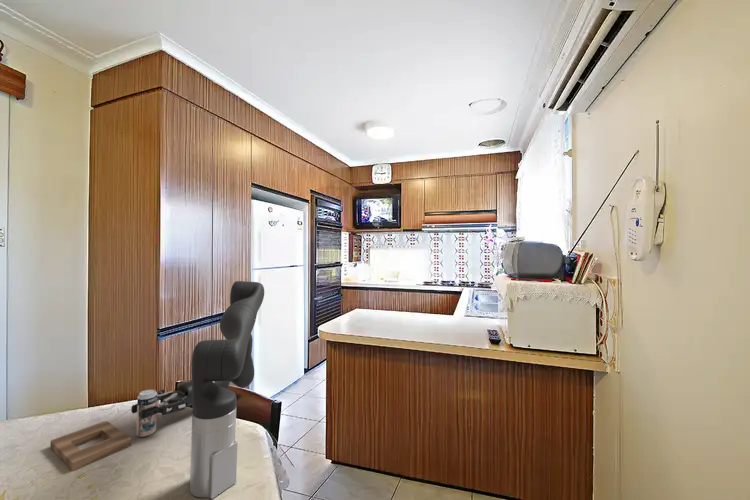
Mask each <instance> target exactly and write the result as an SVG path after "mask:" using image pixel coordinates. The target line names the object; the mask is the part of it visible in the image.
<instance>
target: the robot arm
mask: <svg viewBox="0 0 750 500" xmlns="http://www.w3.org/2000/svg"><path fill="white" fill-rule="evenodd" d="M264 297H265V286H264V285H263V284H262V283H261V282H259V281H258V282H257V281H247V280H245V281H244V280H236V281H235V282H233V283H232V285H231V288H230V294H229V306H228V307H227V308H226V310H225V311H224V312H223V315H222V316H221V319H220V320H219V330H220V332H221V335H222V336H223V338H225V339H205V340H201V341H199V342H197V344H196V345H195V346H194V348H193V351H192V355H191V363H190V365H191V366H190V367H191V379H190V380H188V381H185V382H182V383H180V384H178V385H177V387H175V388H176V389H175V390H171V391H167V392H166V391H165V389H160V390H158V391H156V392H157V407H156V406H153V407H150V408H147V409H145V410H142V411H141V412H140V418H141V419H144V418H147V417H149V416H152V415H155V414H156V416H157V415H162V416H167V415H170V414H174V413H177V412H180V411H185V409H186V408H188V407H190V406H191V409H192V411H191V413H192V415H191V436H190V438H191V439H190V440H191V443H190V470H189V475H190V476H189V491H190V493H191V495H192V496H194V497H196V498H208V499H210V498H211V500H212V499H215V498H216V497H217V496H219V495H220V494H222V493H223V492H224V491H226V490H228V489H229V488H230V487H232V486H233V485H235V484H236V483H237V475H238V474H237V468H238V467H237V466H238V442H237V441H236V427H237V405H238V404H237V403H238V401H237V400H238V399H237V395H236V393H235V392H234V391H233V390H231V389H229V386H230V383H232V384H233V385H235V386H237V388H241V389H244V388H247V387H248V386H250V385H251V384H252V382H253V380H254V378H255V366H254V360H253V356H252V353H253V352H252V351H253V341H254V340H253V336H252V332H253V330H254V327H255V323H256V321H257V315H258V312H259V311H260V308H261V306H262V305H263V304H262V303H263V301H264ZM130 408H131V409H130V410H131V411H130V412H131V413H132V414H137V403H135V404H133V405H131V407H130ZM218 494H219V495H218Z"/></svg>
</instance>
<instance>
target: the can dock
mask: <svg viewBox="0 0 750 500" xmlns="http://www.w3.org/2000/svg"><path fill="white" fill-rule="evenodd" d="M99 438H102V439H104V440H102V441H99V442H97V443H94V444H92V445H89V446H87V447H84V448H82V449H80V448H78V447H79V446H81V445H84V444H86V443H90V442H92V441H94V440H97V439H99ZM131 446H132V437H130V436H128V435H127V434H126V433H124V432H123V431H122V430H120V429H119V428H117V427H116V426H115V425H114V424H112V423H111V422H109V421H108V420H104V421H101V422H99V423H96V424H92V425H89V426H87V427H85V428H82V429H79V430H75V431H73V432H71V433H68V434H65V435H64V434H63V436H62V435H61V436H60V437H56V438H52V439H50V447H49V448H50V449H51V450H52V452H53V453H55V455H57V457H58V458H59V459H60V460H61V461H62V462H63V463H64V464H65V465H66V466H67V468H69V469H70V470H71V471H72V472H74V471H77V470H79V469H80V468H81V469H82V468H84V467H85V466H88V465H90V464H92V463H93V464H94V462H97V461H99V460H102V459H104V458H106V457H108V456H110V455H113V454H115V453H117V452H120V451H123V450H124V449H126V448H128V447H131Z"/></svg>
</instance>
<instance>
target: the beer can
mask: <svg viewBox="0 0 750 500" xmlns="http://www.w3.org/2000/svg"><path fill="white" fill-rule="evenodd" d="M157 392H158V391H157V390H156V389H151V388H150V389H144V390H142V391H140V392H139V394H138V396H137V403H136V404H137V412H136V436H137V437H140V438H144V437H149V436H151V435H153V434H154V433H155V432H156V431H157V414H155V415H152V416H149V417H147V418H144V419H141V418H140V412H141V411H142V410H145V409H147V408H150V407H153V406H156V407H157Z"/></svg>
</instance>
